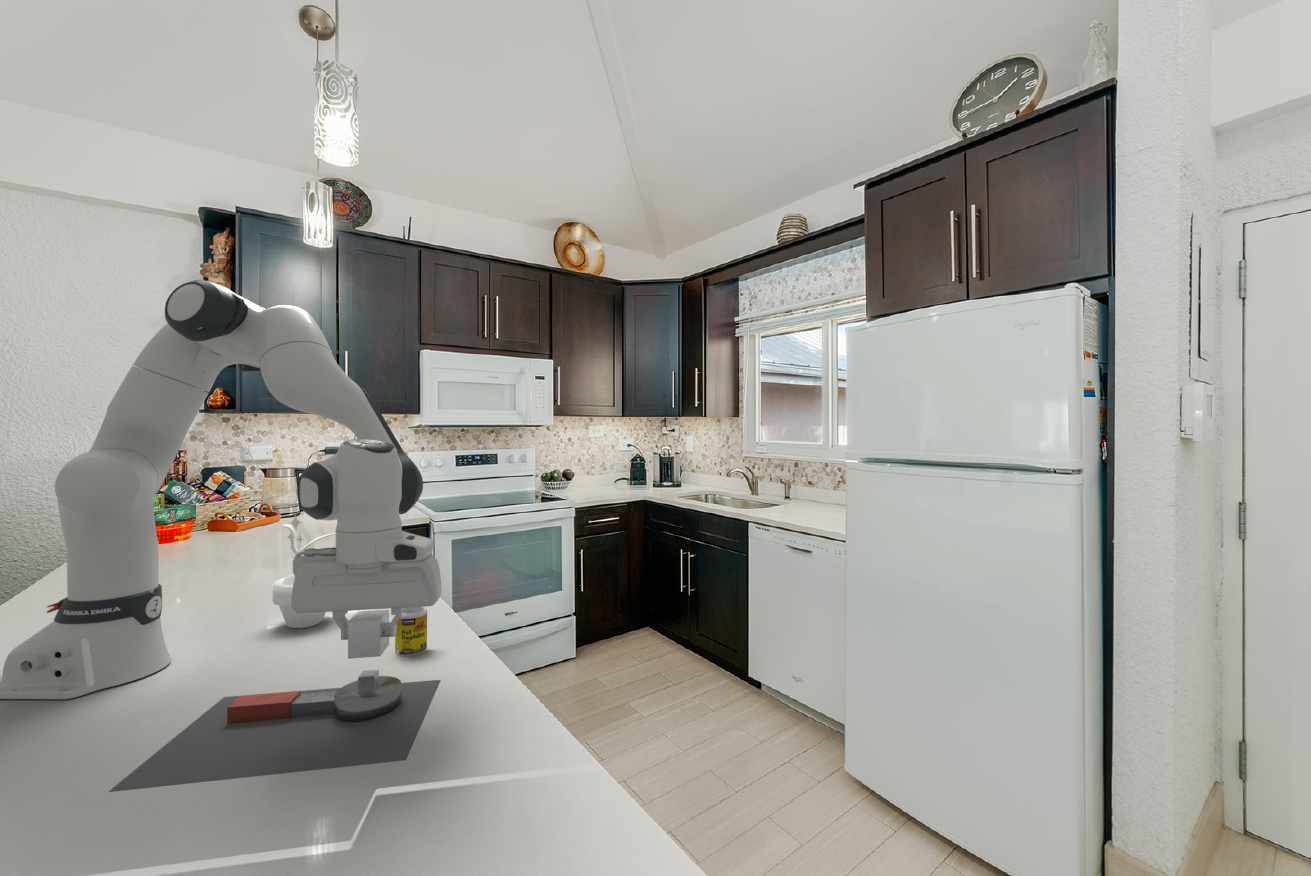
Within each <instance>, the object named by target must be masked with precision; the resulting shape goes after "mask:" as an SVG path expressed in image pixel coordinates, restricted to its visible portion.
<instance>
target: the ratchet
mask: <svg viewBox="0 0 1311 876" xmlns="http://www.w3.org/2000/svg"><path fill="white" fill-rule="evenodd" d="M379 674H380V669H372V670H371V669H370V670H362V672H361V673H360V675H359V676H358V679H357V680H355V681H352V682H349V683H347V684H345V685H344V686H342V687H339V688H340V689H339V690H338V691H332V692H320V693H307V694H301V691H302V690H296V691H295V690H294V691H283V692H270V693H269V692H267V693H257V694H245V695H239V696H240V697H239V698H237V699H236V700H235V701H234V702H233V703H232V704H230V705H229V706H228V707H227V724H234V723H246V722H257V721H268V720H280V719H290V718H294V717H306V716H317V715H328V714H334V716H335V718H336V719H338V720H340V721H343V722H363V721H368V720H372V719H376V718H379V717H382V716H384V715H386V714H388V713H390V712H392V711H393V710H395V709H396V708H397V707H398V706H399V705H400V703H401V700H402V683H403V682H402V681H401V680H400V679H399V678H397V677H396V676H395V677H394V676H390V675H389V676H388V675H379Z"/></svg>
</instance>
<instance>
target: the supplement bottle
mask: <svg viewBox="0 0 1311 876" xmlns="http://www.w3.org/2000/svg"><path fill="white" fill-rule="evenodd" d="M394 638H395V639H394V642H395V643H394V648H395V649H394V652H395V655H397V656H401V657H407V656H413V655H418V654H420V653H423V652H425V651H427V647H428V608H427V607H426V606H425V607H406V608H405V610H404V612H403V613H402V615H401V617H400V618H399V620H398V622H397V632H396V635H395V636H394Z"/></svg>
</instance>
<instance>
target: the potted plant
mask: <svg viewBox="0 0 1311 876" xmlns="http://www.w3.org/2000/svg"><path fill="white" fill-rule="evenodd" d="M301 523H302V521H300V520H298V518H297V514H296V513H295V514H294V518H293V520H292V521H291V522H289V523H288V524H287V523H285V524H283V523H282V524H280V526H281V527H283V528H287V529H288V530H289V532H290V534H289V535H288V536H286V538H288V539H289V541H290V550H292V552H293V553H294V554H295V556H296V555H297V554H298V553H300V552H303V551H304V550H305V549H308V548H309V547H310V546H311V545H313V544H315V543H316V542H318V541H320V540H322V539H325V538H327V537H331V536H334V535H335V536H336V532H332V533H327V534H324V535H321V536H319V537H316V538H313V539H312V540H311V541H309V542H308V543H307V544H305V545H304V546H302V548H301V549H300V550H299V549H298V545H297V541H298V542H299V545H301V543H302V541H303V540H304V538H303V537H301V536H299V537H298V539H297V538H296V537H297V535H296V532H297V530H298V526H299V525H300V524H301ZM295 556H294V557H295ZM300 556H302V555H300ZM294 579H295V575H294V574H288V575H287V576H286V577H283V578H278V579H277V580H275V581H273V582H272V603H273V604H274V606H278V607H279V610H280V612H281V614H282V617H283V620H284V622H285V624H286V626H287V627H288V628H290V629H295V628H298V629H306V628H310V627H311V628H312V627H314V626H316V625H318V624H319V623H321V622H322V621H323V620H324V617H325V615H326V612H314V613H296V612H295V611H294V609H293V608H292V607H291V599H292V590H293V584H294Z"/></svg>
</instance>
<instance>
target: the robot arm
mask: <svg viewBox="0 0 1311 876" xmlns="http://www.w3.org/2000/svg"><path fill="white" fill-rule="evenodd" d="M164 317H165V321H166V324H165V325H163V326H162V327H161V328H160V329H159V330H158V331H157V332H156V333H155V334H154V335H153V337H152V338H151V339H150V340H149V341H148V342H147V344H145V346H144V348H142V349H141V351H140V353H139V355H138V356H137V357H136V358H135V360H134V362H133V363H132V365H131V367H130V369H129V370H128V372H127V373H126V375H125V377H124V378H123V381H122V382H121V383H120V386H119V387H118V389H117V390H116V392H115V394H114V396H113V397H112V399H111V400H110V402H109V404H108V406H107V408H106V412H105V415H104V417H103V421H102V423H101V425H100V428H99V429H98V430H99V431H98V433H97V435H96V437H95V439H94V441H93V443H92V446H91V448H90V450H89V451H87V452H85V453H82V454H79V455H77V456H75V457H73V458H72V459H70V460H69V461H68V462H67V463H65V464H64V465H63V467H61V469H60V470H59V472H58V474H57V476H56V478H55V483H54V491H55V494H56V495H55V496H56V498H57V505H58V511H59V519H60V524H61V530H62V534H63V539H64V542H65V543H64V544H65V548H66V550H65V551H66V580H67V581H66V586H67V587H66V588H67V591H66V593H67V597H64V598H62V599H61V600H59V601H58V602H55V603H53V604H50V605H47V606H46V608H49V609H48V610H47V611H46V614H49V613H51V612H55V611H57V612H56V614H55V615H54V618H53V621H52V622H51V623H49V624H47V625H46V626H45V627H44V628H42V629H41V630H39V631H37V632H35V633H34V634H33V635H32V636H30V637H28V638H26V640H24V641H23V642H21V643H19V644H18V645H17V646H16V647H14V648H12V650H10V652H9V653H8V655H7V656H6V659H5V660H4V664H3V668H2V675H1V677H0V700H68V699H69V700H70V699H73V698H77V697H82V696H84V695H87V694H90V693H93V692H95V691H99V690H102V689H108V688H111V687H115V686H120V685H123V684H126V683H129V682H134V681H135V680H139V679H142V678H145V677H148V676H149V675H152V674H154V673H156V672H158V671H160V670H162V669H164V668H165V667H167V666H169V664H170V663H171V661H172V657H171V656H170V655H171V654H170V653H169V651H168V648H167V645H166V642H165V638H164V633H163V628H162V620H161V616H162V610H163V589H162V588H163V586H162V585H161V584H160V583H159V581H160V579H159V577H160V576H159V539H158V535H157V534H158V533H157V527H156V520H155V519H156V518H155V508H154V507H155V506H154V505H155V504H154V496H155V495H156V494H157V493H158V491H159V490H160V488H161V487H162V484H163V483H164V481H165V479H166V477H167V475H168V473H169V471H170V469H171V467H172V466H173V463H174V460H175V459H176V457H177V455H178V453H179V450H180V448H181V447H182V444H183V442H184V440H185V438H186V435H187V433H188V431H189V429H190V427H191V426H192V424H193V422H194V420H195V418H196V417H197V416H198V413H199V411H200V410H201V408H202V406H203V404H204V403H205V400H206V398H207V397H208V395H209V393H210V391H211V390H212V387H213V386H214V383H215V381H216V380H217V378H218V376H219V374H220V373H221V372H222V371H223V369H225V368H227V367H228V366H233V365H237V366H238V368H239V369H240V370H241V371H242V372H248V373H249V372H260V373H261V375H262V379H263V382H264V384H265V386H266V388H267V389H268V391H269V392H270V394H271V395H272V397H274V399H276V400H277V401H278V402H279V403H281V404H282V405H284V406H286V407H289V408H291V409H293V410H296V411H298V412H302V413H307V414H310V415H314V416H318V417H322V418H325V419H328V420H331V421H334V422H336V423H339V424H341V425H343V426H345V427H346V428H347V429H349V430H350V431H351V432H352V433H353V435H354V436H355V437H356V438H354V439H349V440H344V441H343V442H342V443H340V445H339V447H338V448H337V449H338V450H337V452H336V453H334V454H333V455H332V456H330V457H327V458H326V459H323V460H321V461H318V462H317V461H316V462H313V463H311V464H310V465H308V467H306V468H305V469H304V471H303V472H302V473H301V474H300V476H299V477H298V481H297V502H298V503H297V504H298V506H299V508H300V509H301V510H302V511H303V512H304V513H305V514H307V515H308V516H309V517H311V518H313V520H316V521H319V520H320V521H336V520H337V521H336V525H335V533H336V534H335V546H334V547H324V548H313V547H312V548H311V547H310V548H309V547H308V548H306V549H304V550H303V551H302V552H300V553H298V554H297V555H296V556H294V557H293V560H292V573H293V574H294V575H295V579H294V584H293V590H292V599H291V607H292V608H293V609H294V611H295V612H296V613H314V612H325V613H328V612H331V613H332V618H331V619H332V620H333V621H334V623H335V625H337V627H338V628H339V630H340V640H341V641H346V640H347V641H348V621H349V619H348V618H346V615H347V614H348V612H349V611H371V610H389V609H390V615H391V616H393V618H392V620H391V621H389V622H387V623H386V624H385V625H384V626H383V631H384V633H383V637H389V638H390V637H391V638H395V635H396V632H397V622H398V620H399V618H400V617H401V615H402V613H403V612H404V610H405V608H406V607H425V608H426V607H433V606H434V605H435V604H436V603H437V602H439V600H440V598H441V596H442V578H441V571H440V570H441V569H440V565H439V562H438V561H439V560H438V559H437V558H436V556H435V555H433V554H431V553H432V552H433V549H434V546H435V545H434V540H433V539H431V538H430V537H425V536H422V535H418V534H414V533H411V532H408V531H404V530H402V528H403V527H402V526H403V525H402V524H403V523H402V518H401V515H404V514H406V513H408V512H409V511H410V510H411V509H412V508H413V507H414V506H415V505H416V504H417V502H418V501H419V499H420V498H421V496H422V493H423V490H424V480H423V476H422V473H421V471H420V469H419V468H418V466H417V465H416V464H415V462H414V461H413V460H412V459H411V457H409V456H408V454H407V453H406V452H405V451H404V449H403V447H402V446H401V445H400V443H399V441H398V440H397V438H396V436H395V435H394V433H393V431H392V429H391V428H390V425H389V424H388V423H387V421H386V419H385V418H384V416H383V415H382V412H381V411H380V409H379V408H378V406H377V404H376V403H375V401H374V400H373V398H372V396H371V395H370V394H369V393H368V391H367V390H366V389H365V388H363V387H361V385H359V384H357V383H356V382H355V381H354V380H352V379H351V378H350V376H349V375H347V374H346V372H345V371H344V370H343V369H342V368H341V367H340V366H339V364H338V362H337V361H336V359H335V356H334V354H333V353H332V352H333V351H332V350H331V348H330V344H329V343H328V341H327V339H326V337H325V335H324V333H323V331H322V329H321V328H320V326H319V325H318V324H317V322H316V319H314V318H313V316H312V315H311V314H310V313H308V312H307V311H306V310H305V309H302V308H301V307H299V306H294V305H288V304H287V305H286V304H280V305H274V306H270V307H268V308H264V307H263V306H262V305H260V304H257V303H254V302H253V301H251V300H249V299H247V298H244V297H243V296H241V295H238V294H236V293H235V292H233V291H232V290H231V289H229V288H228V287H225V286H222V285H220V284H218V283H215V282H213V281H212V282H211V281H208V280H203V279H195V280H194V279H193V280H190V281H187V282H185V283H182V284H180V285H179V286H177V287H176V288H175V289H173V291H171V293H170V294H169V295H168V297H167V299H166V301H165V305H164ZM300 555H301V556H300ZM51 607H52V608H51Z"/></svg>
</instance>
